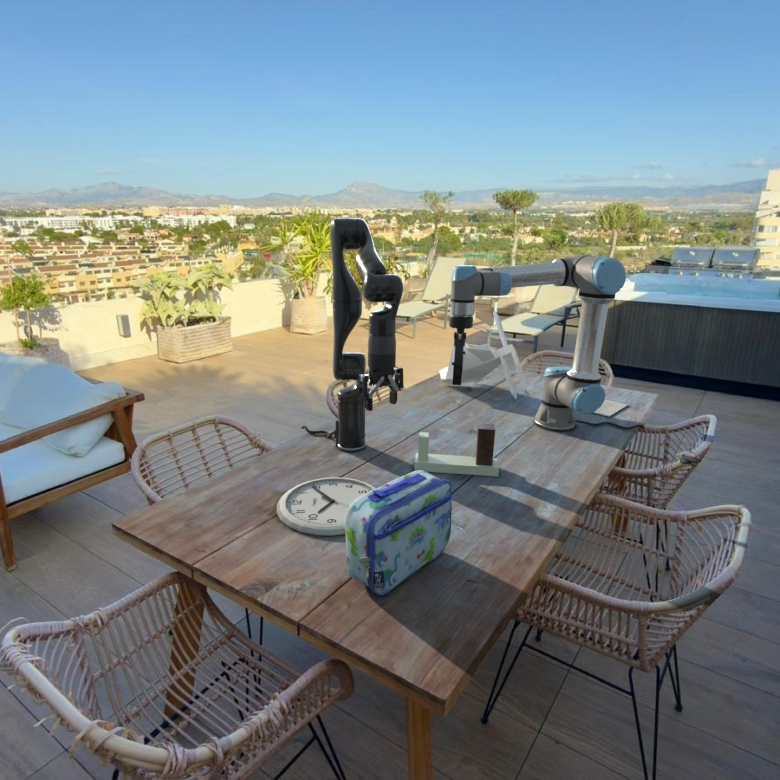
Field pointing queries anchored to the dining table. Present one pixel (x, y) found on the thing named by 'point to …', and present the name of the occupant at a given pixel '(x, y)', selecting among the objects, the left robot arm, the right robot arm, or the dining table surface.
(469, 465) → the pale green l-shaped block
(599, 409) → the invitation card
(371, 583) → the lunch box
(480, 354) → the white plastic object
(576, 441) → the dining table surface
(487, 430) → the walnut block
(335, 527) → the wall clock
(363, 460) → the dining table surface
